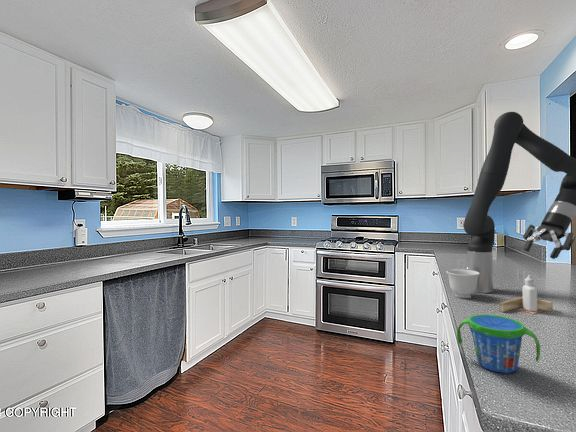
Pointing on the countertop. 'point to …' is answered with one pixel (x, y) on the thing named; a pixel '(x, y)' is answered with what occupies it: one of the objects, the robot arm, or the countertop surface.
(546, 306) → the tan l-shaped piece
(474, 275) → the teacup
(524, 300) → the eye dropper bottle
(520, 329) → the snack cup
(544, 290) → the countertop surface
